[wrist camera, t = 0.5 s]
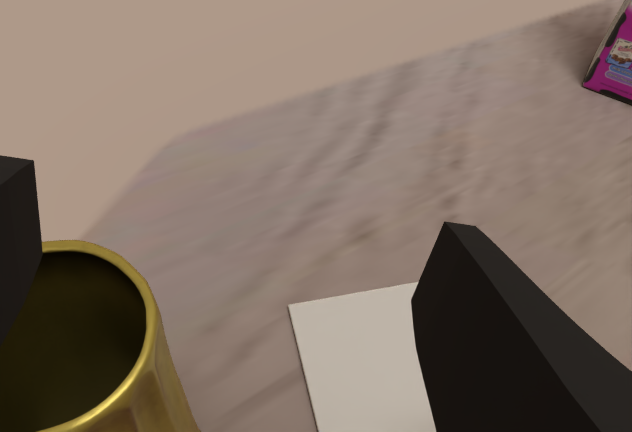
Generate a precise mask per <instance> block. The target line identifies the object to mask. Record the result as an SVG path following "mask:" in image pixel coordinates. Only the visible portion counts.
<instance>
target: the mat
mask: <svg viewBox="0 0 632 432" xmlns="http://www.w3.org/2000/svg"><path fill="white" fill-rule="evenodd" d="M417 285H418V282H415V283H409V284H404V285H398V286H392V287H387V288H381V289H375V290H370V291H364V292H359V293H353V294H347V295H342V296H336V297H330V298H325V299H319V300H313V301H308V302H302V303H296V304H291V305H288V309H289V314H290V318H291V322H292V326H293V330H294V334H295V338H296V343H297V347H298V351H299V355H300V359H301V363H302V367H303V372H304V376H305V380H306V384H307V388H308V392H309V396H310V401H311V405H312V409H313V413H314V417H315V421H316V426H317V430H318V432H436V428H435V424H434V420H433V416H432V412H431V408H430V404H429V400H428V396H427V392H426V388H425V384H424V380H423V376H422V372H421V368H420V364H419V360H418V355H417V351H416V345H415V337H414V329H413V319H412V308H411V299H412V296H413V294H414V292H415V289H416V287H417Z"/></svg>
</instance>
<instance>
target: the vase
mask: <svg viewBox="0 0 632 432" xmlns="http://www.w3.org/2000/svg"><path fill="white" fill-rule="evenodd" d="M42 251H43V255H42V258H41V261H40V263H39V266H38V269H37V271H36V274H35V277H34V279H33V282H32V285H31V287H30V289H29V292H28V294H27V297H26V299H25V302H24V304H23V306H22V308H21V310H20V312H19V314H18V316H17V317H16V319H15V321H14V323H13V325H12V326H11V328H10V330H9V332H8V334H7V336H6V337H5V339H4V341H3V343H2V345H1V346H0V432H201V431H200V430H199V429H198V427H197V425H196V422H195V420H194V418H193V415H192V413H191V410H190V407H189V404H188V401H187V398H186V396H185V393H184V390H183V387H182V385H181V382H180V380H179V377H178V375H177V373H176V370H175V367H174V364H173V361H172V358H171V355H170V352H169V348H168V344H167V340H166V337H165V333H164V328H163V324H162V318H161V314H160V311H159V308H158V306H157V303H156V301H155V298H154V296H153V293H152V291H151V289H150V287H149V285H148V283H147V281H146V280H145V278H144V277H143V276H142V275H141V274H140V273H139V272H138V271H137V270H136V269H135V268H134V267H133V266H132V265H131V264H130V263H129V262H128V261H126V260H125V259H124V258H123V257H122V256H120V255H119V254H117V253H115V252H114V251H111V250H109V249H107V248H104V247H102V246H99V245H96V244H93V243H89V242H86V241H79V240H60V241H47V242H42Z"/></svg>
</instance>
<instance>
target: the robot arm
mask: <svg viewBox="0 0 632 432" xmlns="http://www.w3.org/2000/svg"><path fill="white" fill-rule="evenodd" d="M42 255H43V251H42V241H41V231H40V220H39V210H38V200H37V190H36V178H35V168H34V161H33V160H27V159H20V158H14V157H7V156H0V346H1V345H2V343H3V341H4V339H5V337H6V336H7V334H8V332H9V330H10V328H11V326H12V325H13V323H14V321H15V319H16V317H17V316H18V314H19V312H20V310H21V308H22V306H23V304H24V302H25V299H26V297H27V294H28V292H29V289H30V287H31V285H32V282H33V279H34V277H35V274H36V271H37V269H38V266H39V263H40V261H41V258H42ZM411 308H412V319H413V329H414V337H415V345H416V351H417V355H418V360H419V364H420V368H421V372H422V376H423V380H424V384H425V388H426V392H427V396H428V400H429V404H430V408H431V412H432V416H433V420H434V424H435V428H436V432H632V371H630V370H629V369H628V368H626V367H625V366H624V365H623V364H622V363H620V362H619V361H618V360H617V359H616V358H614V357H613V356H612V355H611V354H610V353H609V352H607V351H606V350H605V349H604V348H603V347H602V346H601V345H600V344H598V343H597V342H596V341H595V340H594V339H593V338H592V337H591V336H589V335H588V334H587V333H586V332H585V331H584V330H583V329H582V328H580V327H579V326H578V325H577V324H576V323H575V322H574V321H573V320H572V319H571V318H570V317H569V316H568V315H566V314H565V313H564V312H563V311H562V310H561V309H560V308H559V307H558V306H557V305H556V304H555V303H554V302H553V301H552V300H551V299H550V298H549V297H548V296H547V295H546V294H545V293H544V292H543V291H542V290H541V289H540V288H539V287H538V286H537V285H536V284H535V283H534V282H533V281H532V280H531V279H530V278H529V277H528V276H527V275H526V274H525V273H524V272H523V271H522V270H521V269H520V268H519V267H518V266H517V265H516V264H515V263H514V262H513V261H512V260H511V259H510V258H509V257H508V256H507V255H506V254H505V253H504V252H503V251H502V250H501V249H500V248H499V247H498V246H497V245H496V244H495V243H493V242H492V241H491V240H490V239H489V238H488V237H487V236H486V235H485V234H484V233H483V232H482V231H480V230H479V229H478V228H477V227H476V226H471V225H464V224H458V223H451V222H444V224H443V226H442V228H441V231H440V233H439V235H438V238H437V240H436V242H435V245H434V247H433V249H432V252H431V254H430V256H429V259H428V261H427V263H426V266H425V268H424V271H423V273H422V275H421V278H420V280H419V282H418V285H417V287H416V289H415V292H414V294H413V296H412V299H411Z"/></svg>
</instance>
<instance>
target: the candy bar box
mask: <svg viewBox="0 0 632 432" xmlns="http://www.w3.org/2000/svg"><path fill="white" fill-rule="evenodd" d="M583 86H584V87H586V88H588V89H591V90H593V91H596V92H599V93H601V94H604V95H607V96H609V97H612V98H615V99H617V100H620V101H623V102H626V103H628V104H631V105H632V0H625V1H624V3H623V5H622V6H621V8H620V10H619V12H618V13H617V15H616V17H615V19H614V20H613V22H612V24H611V26H610V27H609V29H608V31H607V33H606V35H605V37H604V39H603V40H602V42H601V44H600V46H599V48H598V49H597V51H596V53H595V56H594V58H593V61H592V63H591V65H590V68H589V70H588V72H587V75H586V77H585V79H584V82H583Z"/></svg>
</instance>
